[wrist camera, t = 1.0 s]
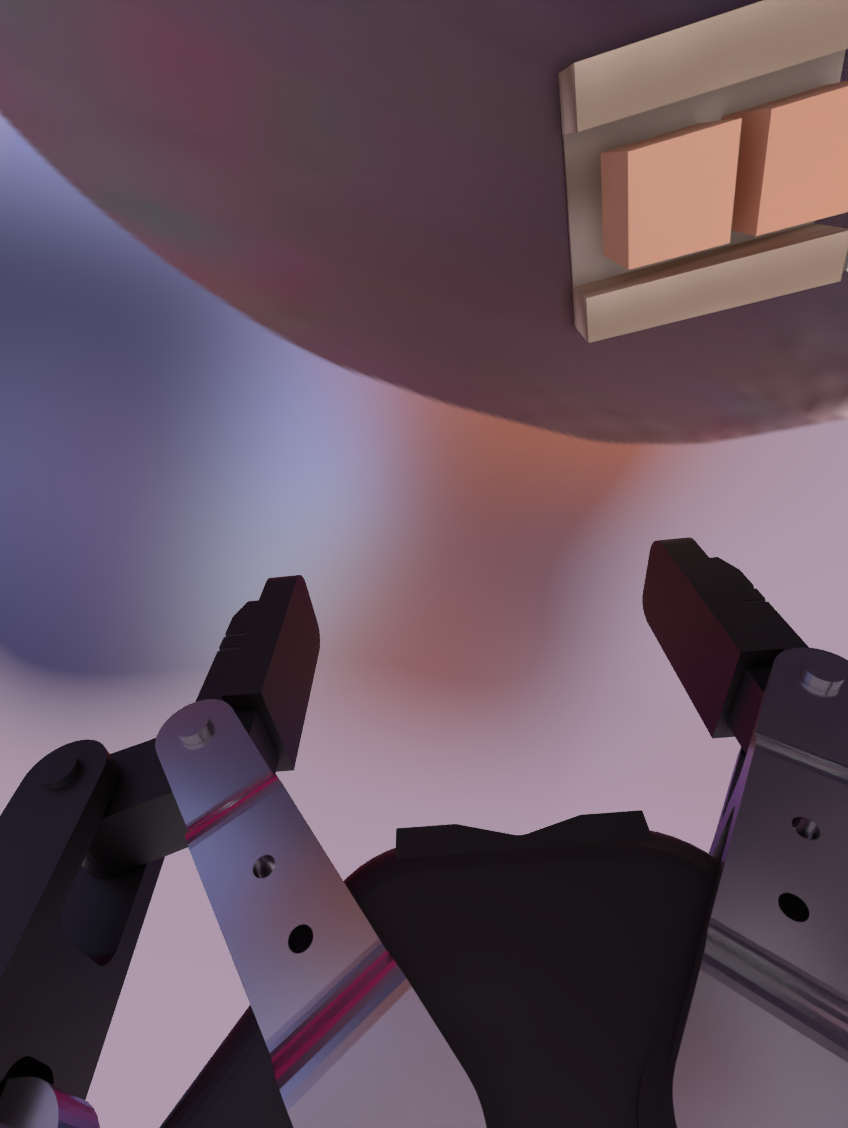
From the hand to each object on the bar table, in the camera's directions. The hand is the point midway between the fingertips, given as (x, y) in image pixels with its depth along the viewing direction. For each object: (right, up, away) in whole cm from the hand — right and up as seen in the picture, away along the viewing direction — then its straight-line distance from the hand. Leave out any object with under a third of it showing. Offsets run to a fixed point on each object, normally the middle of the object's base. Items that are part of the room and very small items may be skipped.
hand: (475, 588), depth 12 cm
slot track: (+11, +18, +11) cm, 24 cm away
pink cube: (+9, +17, +11) cm, 23 cm away
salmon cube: (+14, +18, +10) cm, 25 cm away
